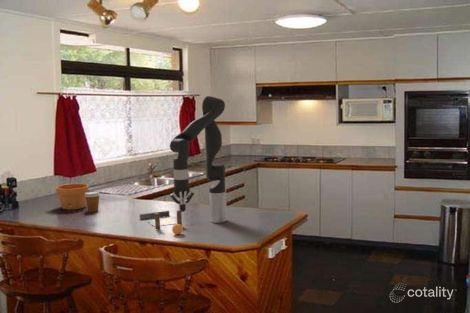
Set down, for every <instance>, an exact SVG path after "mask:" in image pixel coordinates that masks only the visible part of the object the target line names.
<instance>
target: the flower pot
mask: <svg viewBox="0 0 470 313" xmlns="http://www.w3.org/2000/svg"><path fill="white" fill-rule="evenodd" d="M89 188H90V187H89V184H87V183H67V184H66V183H65V184H61V185H60V184H59V185H57V186H56V187H55V190H56V191H55V192H56V194H57V195H58V199H59V202H60V205H61V208H62V209H63V210H71V211H72V210H78V209H82V208H84V207H85V206H86V197H85V193H86V192H89Z"/></svg>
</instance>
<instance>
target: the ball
mask: <svg viewBox="0 0 470 313" xmlns="http://www.w3.org/2000/svg"><path fill="white" fill-rule="evenodd" d="M171 230H172V233H173V234H174V235H176V236H177V235H178V234H179V235H180V234H182V233H183V230H184V229H183V225H182V226H181V225H180V224H173V226H172V228H171Z"/></svg>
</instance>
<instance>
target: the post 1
mask: <svg viewBox="0 0 470 313" xmlns="http://www.w3.org/2000/svg"><path fill="white" fill-rule="evenodd" d="M154 220H155V227H154V228H155V229H160V230H161V226H160V220H161V217H160V215H159V213H155V218H154ZM155 229H154V230H155Z"/></svg>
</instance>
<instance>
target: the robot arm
mask: <svg viewBox="0 0 470 313" xmlns="http://www.w3.org/2000/svg"><path fill="white" fill-rule="evenodd" d="M201 105H202V106H201V108H202V110H201V111H202V116H201V117H198V118H197V119H195V120H193V121H192V122H189V124H188V125H187V126H186V127H185V128H184V130H183V131H182V132H180V133H179V134H178V135H176V136H174V137H173V138H172V140H171V141H170V143H169V148H170V151H171V152H173V153H178V155H177V157H174V159H173V192H172V193H170V194H169V197H170V198H171V199H172V200H173V201H174V203H176V204H177V205H178V206H179V210H180V211H181V213H183V212H185V211H186V204H188V203H189V202H190V201H191V200H192V198H193V197H194V195H195V193H194V192H193V191H191V189H190V185H189V184H190V180H189V178H190V176H189V169H188V167H189V166H188V160H189V156H190V150H191V147H190V146H191V145H190V143H191V142H193V141H194V140H195V139H196V138H197V137H198V136H199V135H200V134H201V133H202V131H203V130H204V140H205V141H204V142H205V143H204V144H205V154H206V155H205V156H206V157H205V158H206V163H205V165H206V167H205V174H206V175H205V176H206V179H207V181H210V182H211V181H218V183H216V184H214V185H211V186H210V187H209V190H208V191H209V210H210V211H209V212H210V223H215V224H218V223H220V224H221V223H225V222H227V201H226V195H227V194H226V167H225V165H224V164H222V163H220V164H218V163H217V164H213V162H214V159H215V157H216V156H217V155H218V153H219V151H220V150H221V148H222V146H223V141H222V138H223V136H222V132H221V130H220V128H219V126H218V124H217V123H216V120H217V118H219V117H220V116H221V115H222V114H223V112H224V111H225V108H226V104H225V101H224V100H223V99H221V98H218V97H215V96H211V95H207V96H205V97H204V98H203V100H202V104H201ZM176 197H177V198H176Z"/></svg>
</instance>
